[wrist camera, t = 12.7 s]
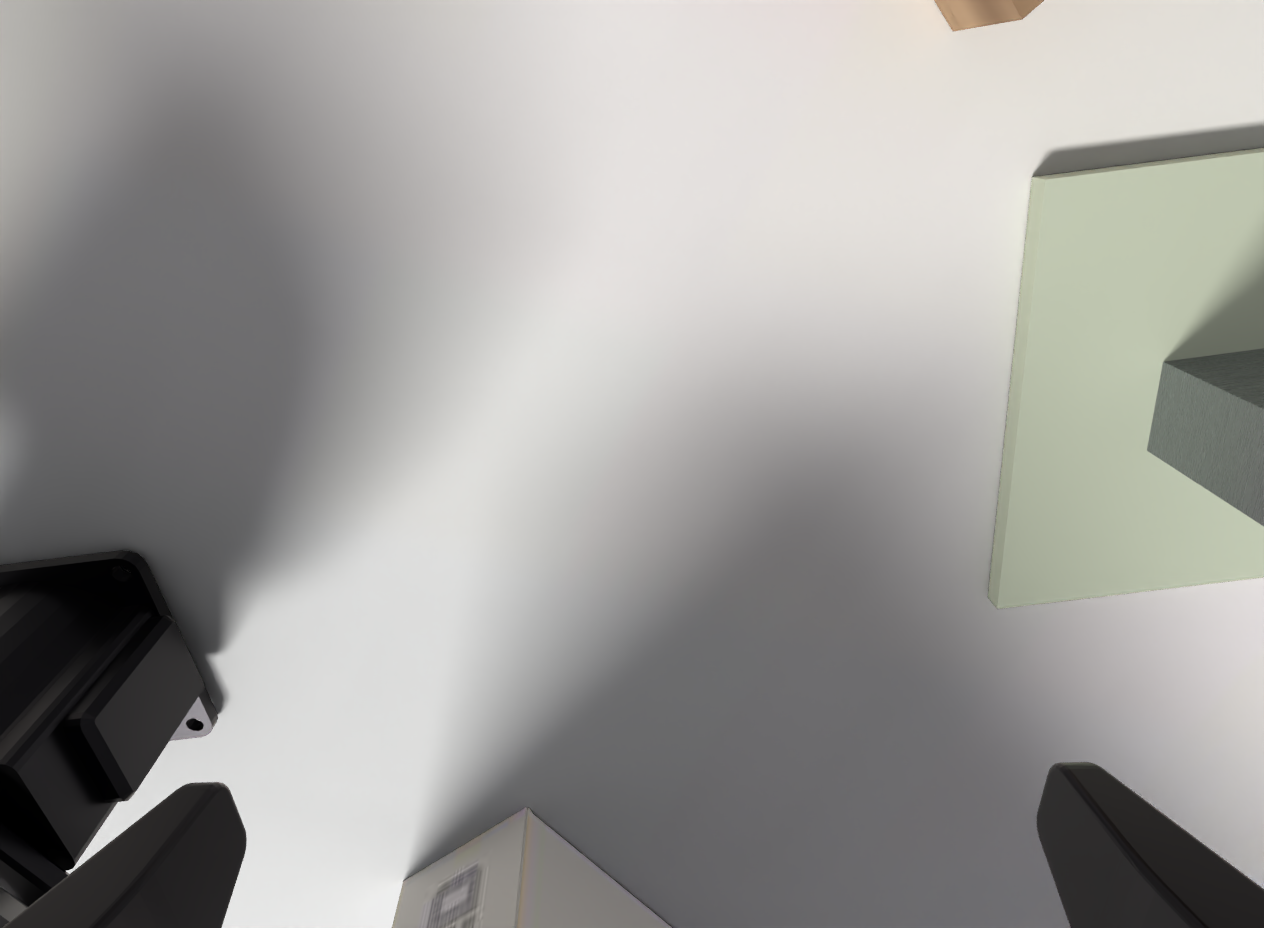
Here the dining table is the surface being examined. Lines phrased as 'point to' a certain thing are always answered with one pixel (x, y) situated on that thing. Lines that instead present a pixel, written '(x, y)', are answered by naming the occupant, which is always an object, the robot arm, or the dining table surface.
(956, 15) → the slotted box
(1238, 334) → the mat
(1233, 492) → the gray rectangular block
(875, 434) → the dining table surface
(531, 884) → the packaging
